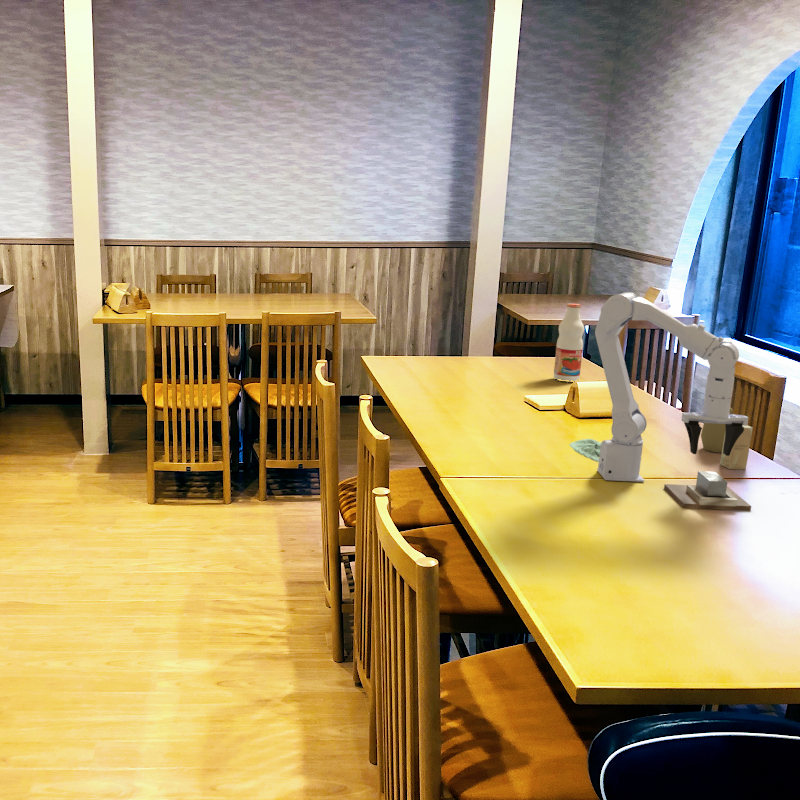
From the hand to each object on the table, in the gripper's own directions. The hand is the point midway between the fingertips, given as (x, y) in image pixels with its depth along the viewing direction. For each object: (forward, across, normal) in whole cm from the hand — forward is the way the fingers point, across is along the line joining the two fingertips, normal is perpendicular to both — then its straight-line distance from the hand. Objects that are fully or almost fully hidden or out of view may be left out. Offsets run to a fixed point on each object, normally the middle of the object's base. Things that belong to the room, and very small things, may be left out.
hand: (709, 453), depth 201 cm
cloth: (+10, -16, +29) cm, 35 cm away
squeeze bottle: (+10, +16, +37) cm, 41 cm away
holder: (+9, -1, -5) cm, 10 cm away
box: (+10, +15, +22) cm, 28 cm away
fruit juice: (+10, -7, +121) cm, 122 cm away
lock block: (+8, -1, -6) cm, 11 cm away
